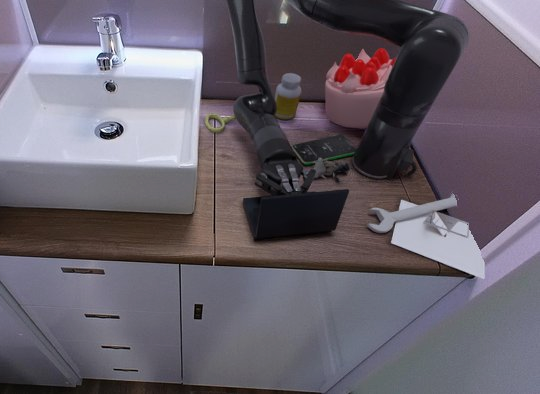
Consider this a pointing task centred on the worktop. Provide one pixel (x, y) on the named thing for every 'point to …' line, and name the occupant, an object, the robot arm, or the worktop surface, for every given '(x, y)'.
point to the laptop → (252, 214)
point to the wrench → (408, 213)
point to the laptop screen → (300, 213)
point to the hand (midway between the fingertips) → (299, 210)
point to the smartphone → (323, 149)
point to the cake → (356, 88)
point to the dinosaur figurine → (330, 168)
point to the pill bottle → (287, 97)
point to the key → (223, 121)
